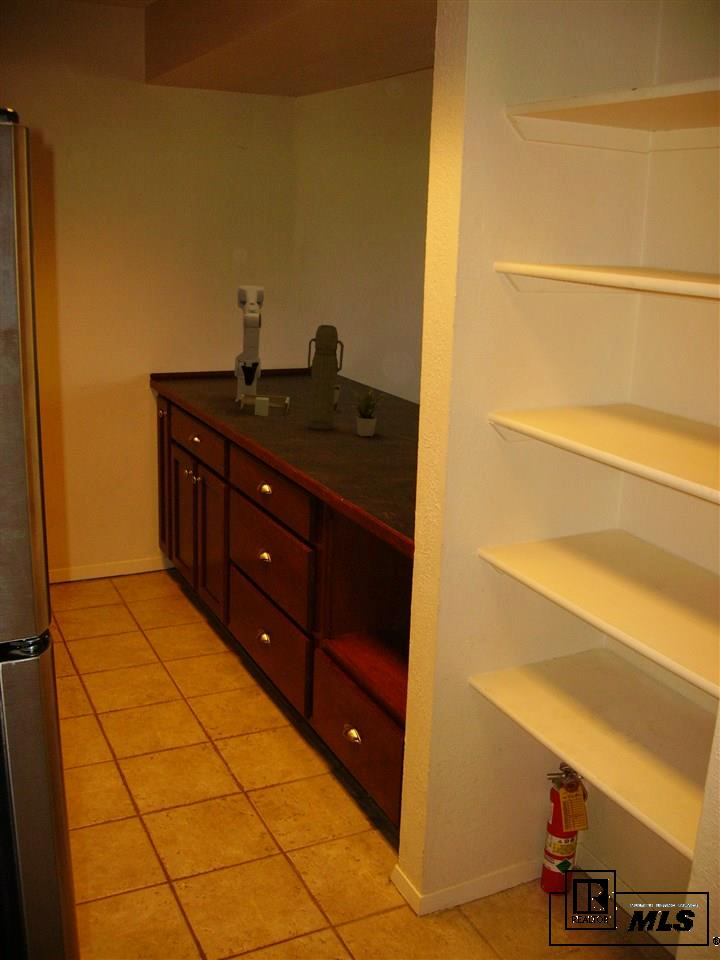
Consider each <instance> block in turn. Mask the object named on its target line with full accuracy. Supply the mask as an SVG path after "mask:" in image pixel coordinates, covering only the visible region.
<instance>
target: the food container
mask: <svg viewBox="0 0 720 960" xmlns="http://www.w3.org/2000/svg"><path fill="white" fill-rule="evenodd" d="M340 392H341V384H335V395H334V411H337V412H338V408H339V406H338V404H339V399H340Z"/></svg>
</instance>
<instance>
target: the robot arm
mask: <svg viewBox="0 0 720 960" xmlns="http://www.w3.org/2000/svg"><path fill="white" fill-rule="evenodd" d="M264 299H265V287H264V286H263V285H261V286H260V285H249V284H247V285H246V284H238V286H237V305H238V308H240V309H241V310H242V313H243V315H242V330H243V332H242V333H243V335H242V336H243V338H242V341H243V342H242V352H241V353H239V354H238V355H236V357H235V361H234V362H235V363H234V376H235V377H236V378H237V392H236V393H237V394H236V395H237V396H236V398H235V400H234V402H236V403H238V399H239V398H240V397H241V395H242V394H254V395H257V384H258V383H257V380H258V379H259V378H260V377H261V373H262V364H261V363H262V362H261V358H260V357H259V354H260V353H259V352H260V334H261V328H262V323H263V322H262V321H263V318H262V313H261V310H262V307H263V305H264Z"/></svg>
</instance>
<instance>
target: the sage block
mask: <svg viewBox="0 0 720 960" xmlns="http://www.w3.org/2000/svg"><path fill="white" fill-rule="evenodd" d="M269 407H270V406H269V398H262V397H256V399H255V405H254V416H255V415H259V416H258V417H268V416H269Z"/></svg>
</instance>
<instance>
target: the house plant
mask: <svg viewBox="0 0 720 960" xmlns="http://www.w3.org/2000/svg"><path fill="white" fill-rule="evenodd" d="M364 388H365V392H366V393H365V395H364V396H362V397H360V395H359V393H357V392H356V390H355V391H354V390H352V391H353V393H354V395H355V396H354V398H355V399H356V401H357V405H352V406H350V408H352V407H353V408H355V409H356V410H357V411H358V413H359V415H356V416H355V417H356V428H357V429H356V431H357V435H358V436H359V435H360V437H364V436H371V437H373V436H374V432H375V430H376V429H375V428H376V425H377V420H378V417H377V416H374V415H372V414H373V413H374V411H376V410H378V409H379V410H384V409H385V408H388V407H385V406H384V407H379V405H380V403H378V402H379V401H380V400H381V401H382V400H383V398H382V397H384V396H386V395H387V392H384V393H381V394H379V395H378V396H377V397H375V398H374V399H373V397H374V395H373V394H374V393H373V391H374V390H373V387H371V389H370V391H368V390H367V388H366V387H364ZM377 412H379V411H376V413H377Z"/></svg>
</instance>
